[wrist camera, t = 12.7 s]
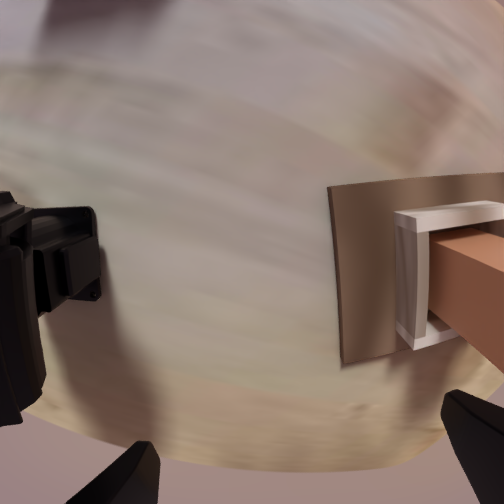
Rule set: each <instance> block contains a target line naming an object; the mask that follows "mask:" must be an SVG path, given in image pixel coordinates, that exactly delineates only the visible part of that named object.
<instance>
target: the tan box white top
mask: <svg viewBox="0 0 504 504" xmlns="http://www.w3.org/2000/svg"><path fill="white" fill-rule="evenodd" d="M428 309H430V310H431V311H432V312H433V313H434V314H436V315H437V316H438V317H439V318H441V319H442V320H443V321H444V322H445V323H446V324H448V325H449V326H450V327H451V328H452V329H454V330H455V331H456V332H457V333H458V334H459V335H461V336H462V337H463V338H464V339H465V340H466V341H468V342H469V343H470V344H471V345H472V346H473V347H475V348H476V349H477V350H478V351H479V352H480V353H481V354H482V355H484V356H485V357H486V358H487V359H488V360H489V361H490V362H491V363H492V364H494V365H495V366H496V367H497V368H498V369H499V370H500V371H501V372H502V373H503V374H504V238H502V237H499V236H496V235H493V234H489V233H486V232H483V231H480V230H477V229H473V228H466V229H460V230H454V231H448V232H441V233H435V234H429V293H428Z"/></svg>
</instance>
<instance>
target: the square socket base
mask: <svg viewBox="0 0 504 504" xmlns="http://www.w3.org/2000/svg"><path fill="white" fill-rule="evenodd" d="M327 189H328V197H329V206H330V214H331V223H332V233H333V243H334V254H335V266H336V278H337V293H338V309H339V329H340V357H341V359H342V361H343V363H344V364H347V363H351V362H356V361H360V360H365V359H369V358H373V357H377V356H382V355H386V354H390V353H393V352H397V351H401V350H405V349H409V348H412V349H413V350H417V349H420V348H424V347H427V346H431V345H434V344H437V343H440V342H443V341H447V340H450V339H453V338H456V337H459V336H461V335H459V334H458V333H457V332H456V331H455V330H454V329H452V328H451V327H450V326H449V325H448V324H446V323H445V322H444V321H443V320H442V319H441V318H439V317H438V316H437V315H436V314H434V313H433V312H432V311H431V310H430V309H428V293H429V234H435V233H441V232H448V231H454V230H460V229H466V228H473V229H477V230H480V231H483V232H486V233H489V234H493V235H496V236H499V237H502V238H504V173H481V174H463V175H447V176H433V177H420V178H408V179H397V180H386V181H376V182H366V183H357V184H348V185H339V186H331V187H327Z"/></svg>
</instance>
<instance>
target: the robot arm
mask: <svg viewBox="0 0 504 504" xmlns="http://www.w3.org/2000/svg"><path fill="white" fill-rule="evenodd" d="M85 211H87V212H88V214H89V215H88V217H86V216H85ZM100 275H101V270H100V260H99V248H98V239H97V238H96V234H95V216H94V210H93V209H92V208H91V207H89V206H79V207H56V208H37V209H34V208H30V207H25V206H24V205H20V204H17V202H15V200H14V199H13V197H12V195H11V193H10V192H9V191H0V427H2V426H7V425H16V424H21V423H22V422H23V419H22V416H21V413H20V412H21V411H22V410H24V409H25V408H27V407H28V406H30V405H32V404H33V403H35V402H36V401H37V399H38V398H39V397H40V396H41V395H42V389H41V388H42V387H43V384H44V381H45V378H46V375H47V374H46V368H45V362H44V356H43V349H42V344H41V338H40V331H39V323H38V318H39V317H41V316H42V315H43V314H44V313H46V312H51V311H52V310H54V309H55V308H56V307H58V306H59V305H60V304H62V303H63V302H64V301H65V300H67V299H72V300H83V301H97V300H98V299H99V298H100V297H101V288H100V279H99V276H100ZM92 291H93V292H95V294H96V296H94V295H93V294H92ZM441 419H442V421H443V424H444V426H445V429H446V431H447V434H448V436H449V439H450V441H451V444H452V447H453V449H454V452H455V454H456V456H457V458H458V460H459V461H460V464H461V466H462V468H463V470H464V472H465V474H466V476H467V478H468V480H469V482H470V484H471V486H472V488H473V490H474V492H475V494H476V496H477V498H478V500H479V502H480V504H504V408H502V407H500V406H497V405H495V404H492V403H489V402H487V401H485V400H483V399H480V398H478V397H475V396H473V395H470V394H468V393H466V392H463V391H461V390H458V389H455V390H452V391H450V392H447V393H446V394H445V396H444V400H443V404H442V408H441ZM159 476H160V458H159V456H158V454H157V452H156V450H155V448H154V446H153V444H152V443H151V442H150V441H137V442H135V443H134V444H133V445H132V446H131V447H130V448H129V449H128V450H127V451H125V453H123V454H122V455H121V456H120V457H119V458H117V459H116V460H115V461H114V462H113V463H112V464H111V465H110V466H108V467H107V468H106V469H105V470H104V471H103V472H101V473H100V474H99V475H98V476H97V477H96V478H94V479H93V480H92V481H91V482H90V483H89V484H87V485H86V486H85V487H84V488H82V489H81V490H80V491H79V492H78V493H76V494H75V495H74V496H73V497H72V498H70V499H69V500H68V501H67V502H66V504H157V503H158V489H159Z"/></svg>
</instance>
